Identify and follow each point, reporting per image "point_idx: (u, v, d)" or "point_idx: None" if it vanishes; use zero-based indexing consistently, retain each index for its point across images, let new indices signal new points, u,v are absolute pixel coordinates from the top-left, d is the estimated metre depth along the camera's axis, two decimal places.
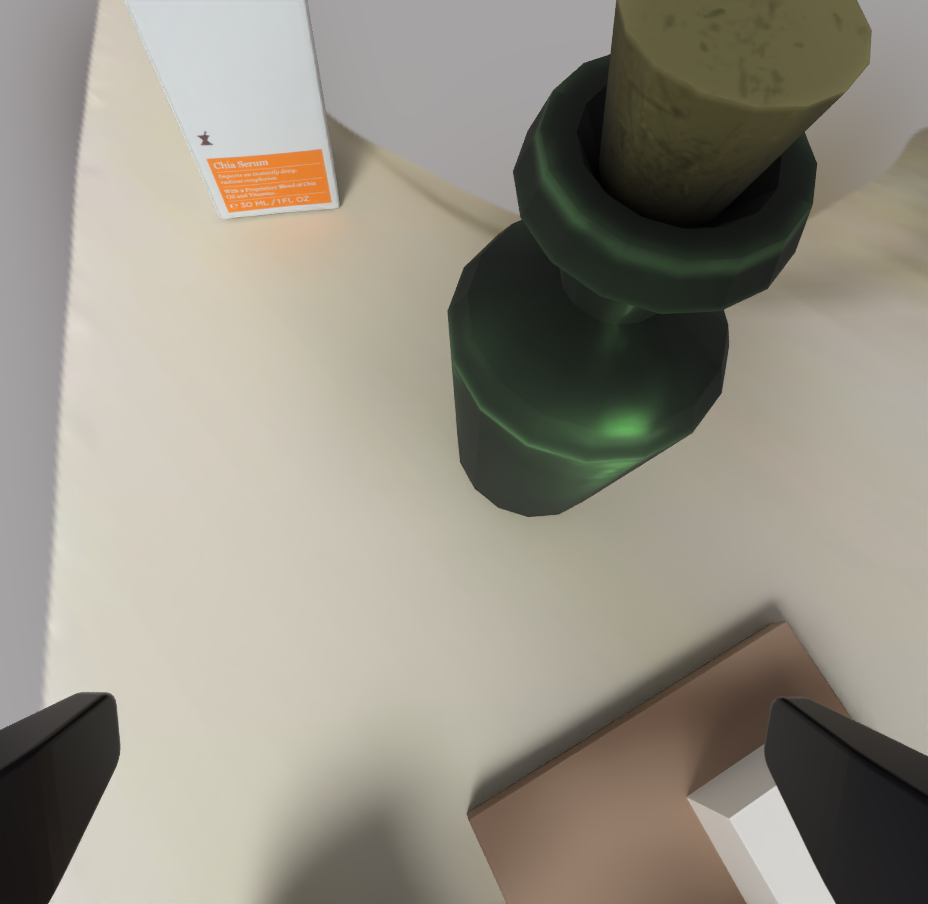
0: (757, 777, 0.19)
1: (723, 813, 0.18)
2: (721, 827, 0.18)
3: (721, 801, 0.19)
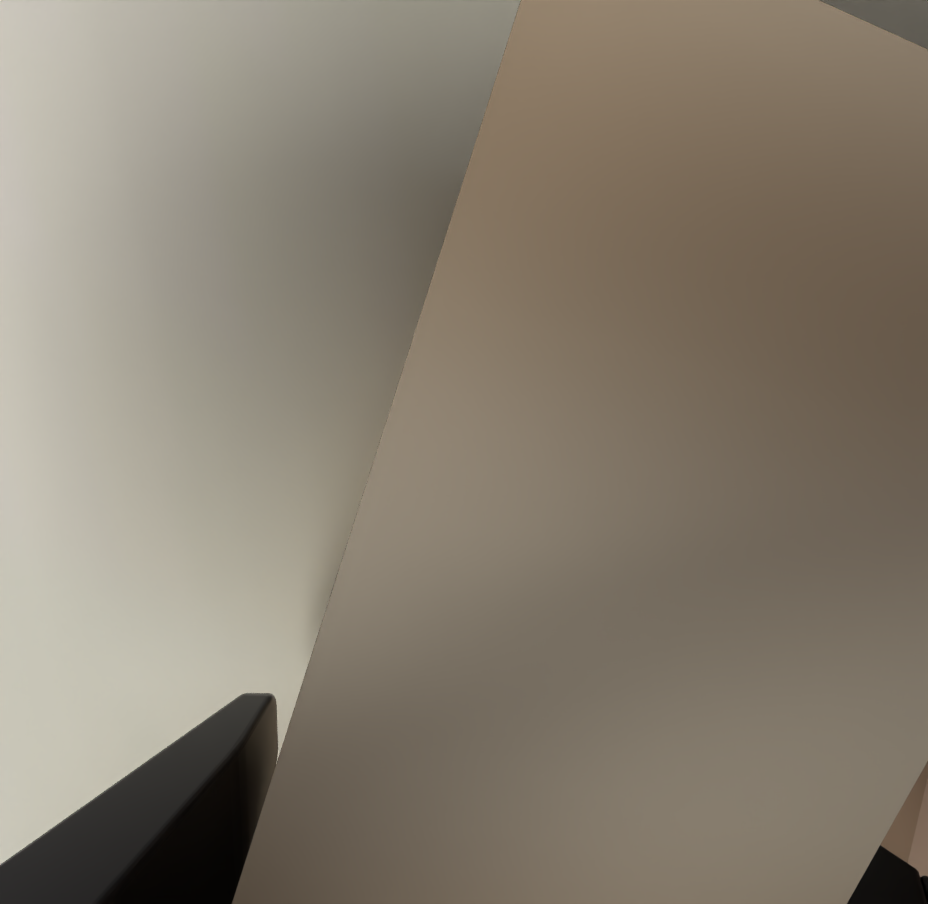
0: None
1: None
2: None
3: None
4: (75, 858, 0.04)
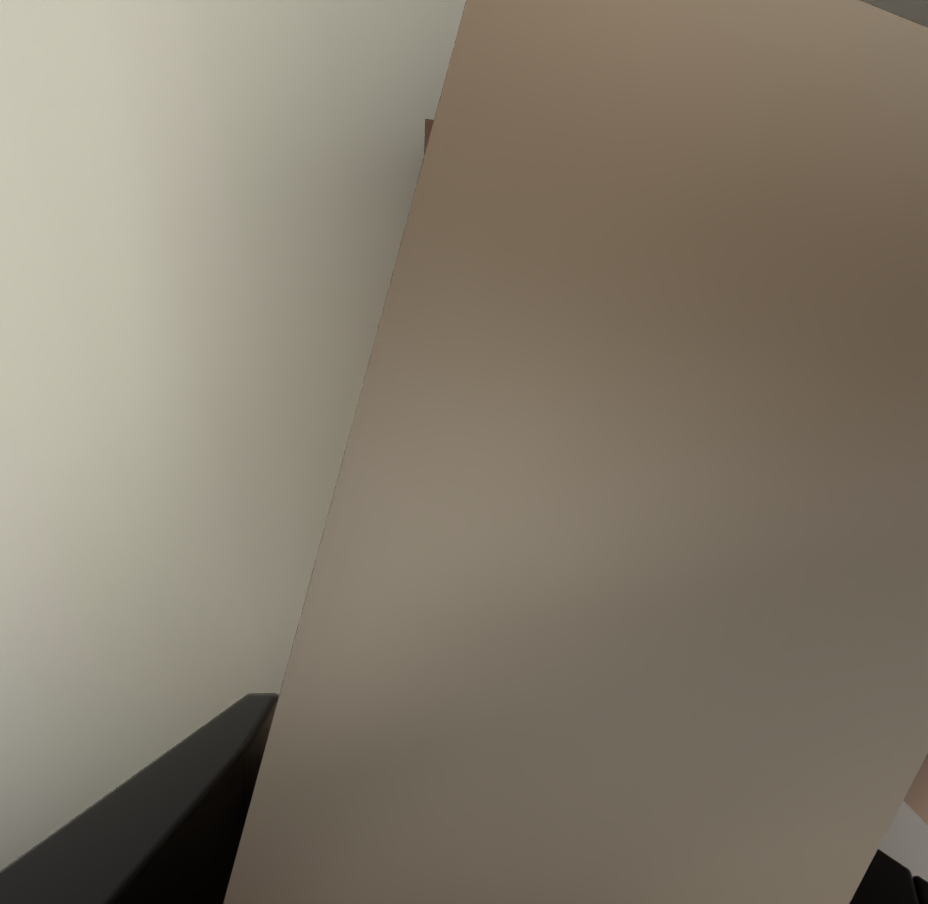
0: None
1: None
2: None
3: None
4: (84, 858, 0.04)
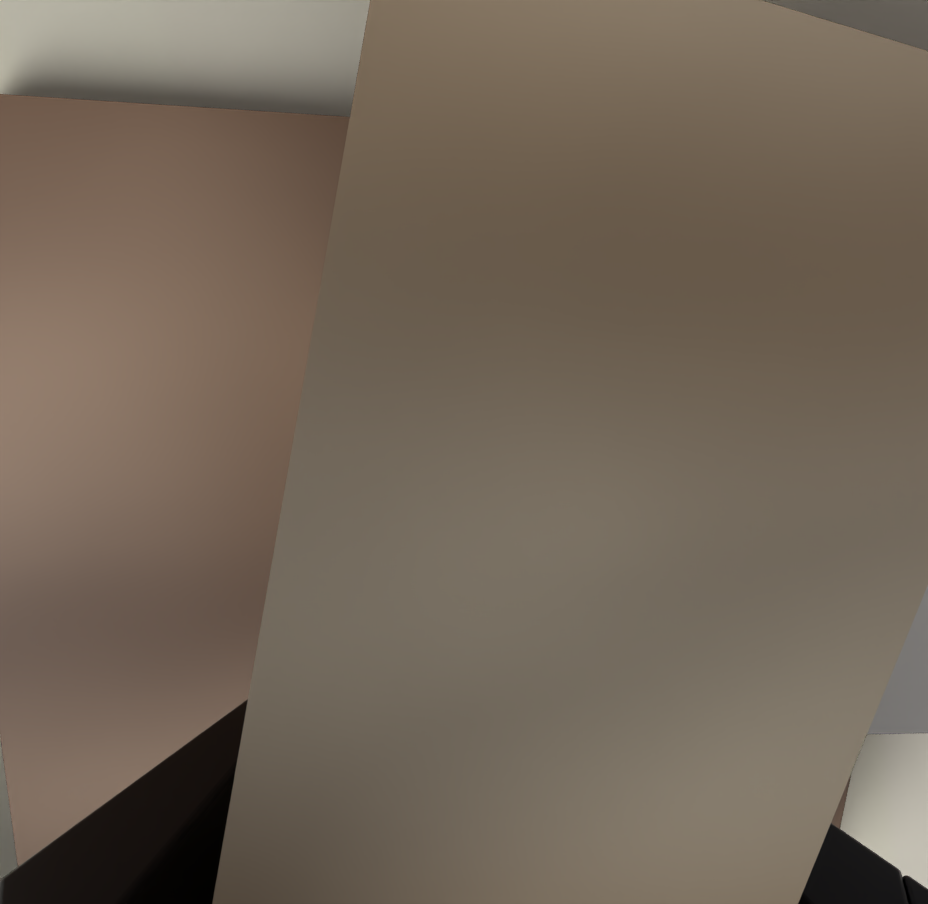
0: None
1: None
2: None
3: None
4: (95, 858, 0.04)
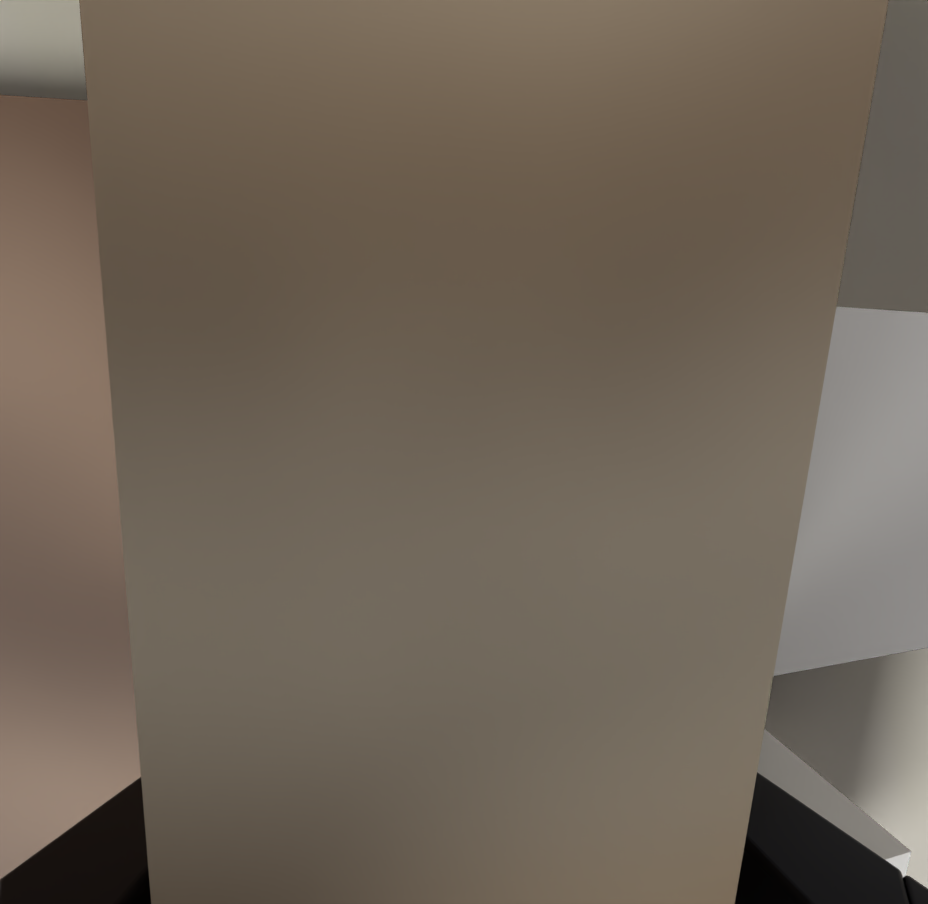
0: None
1: None
2: None
3: None
4: (94, 858, 0.04)
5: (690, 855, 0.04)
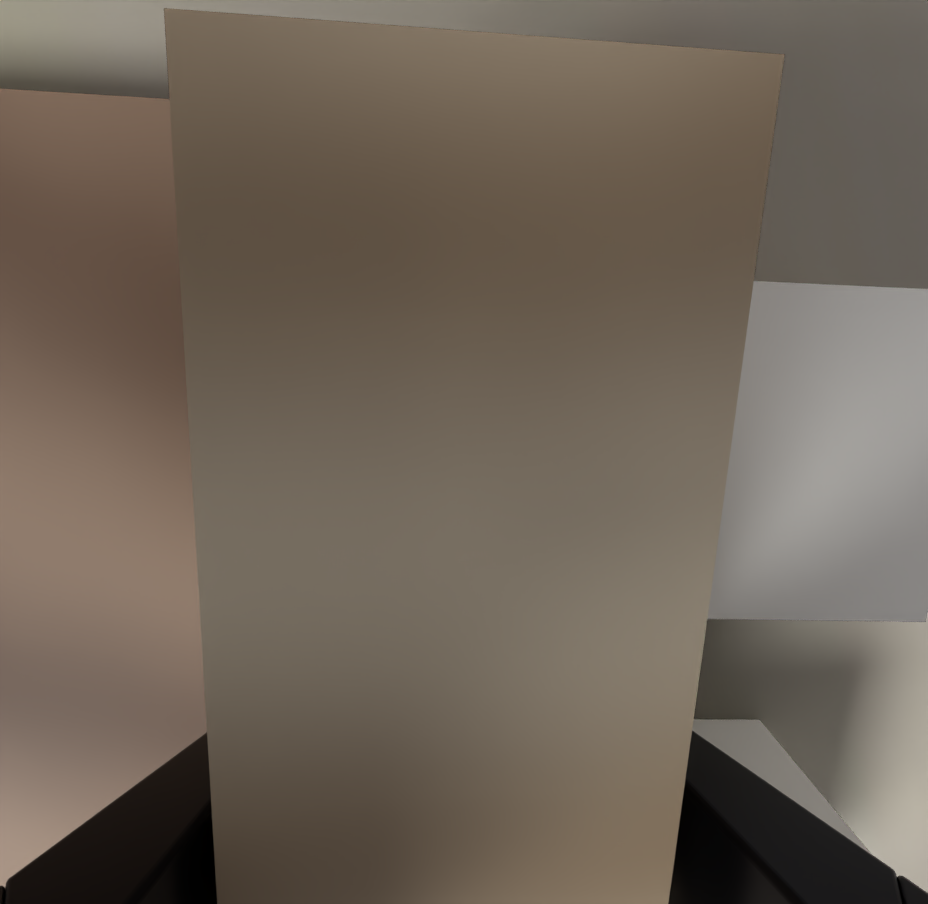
0: None
1: None
2: None
3: None
4: (102, 857, 0.04)
5: (644, 760, 0.05)
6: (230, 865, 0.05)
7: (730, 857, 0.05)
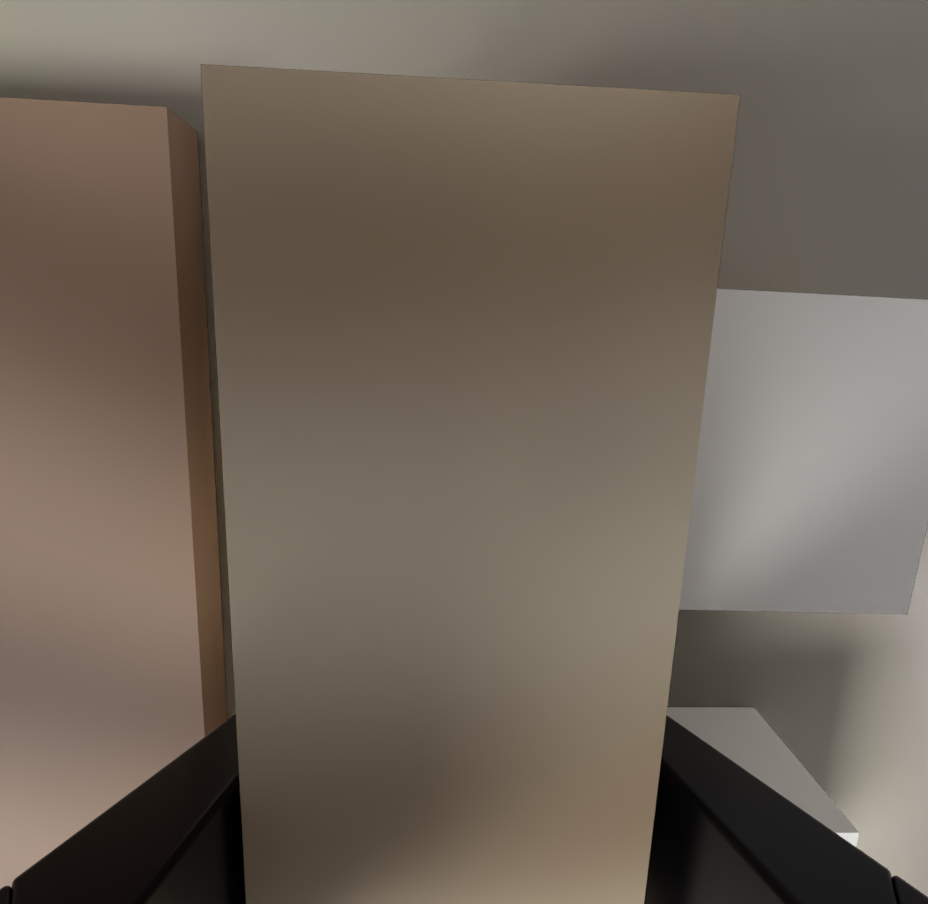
0: None
1: None
2: None
3: None
4: (108, 857, 0.05)
5: (626, 723, 0.05)
6: (255, 816, 0.05)
7: (725, 858, 0.05)
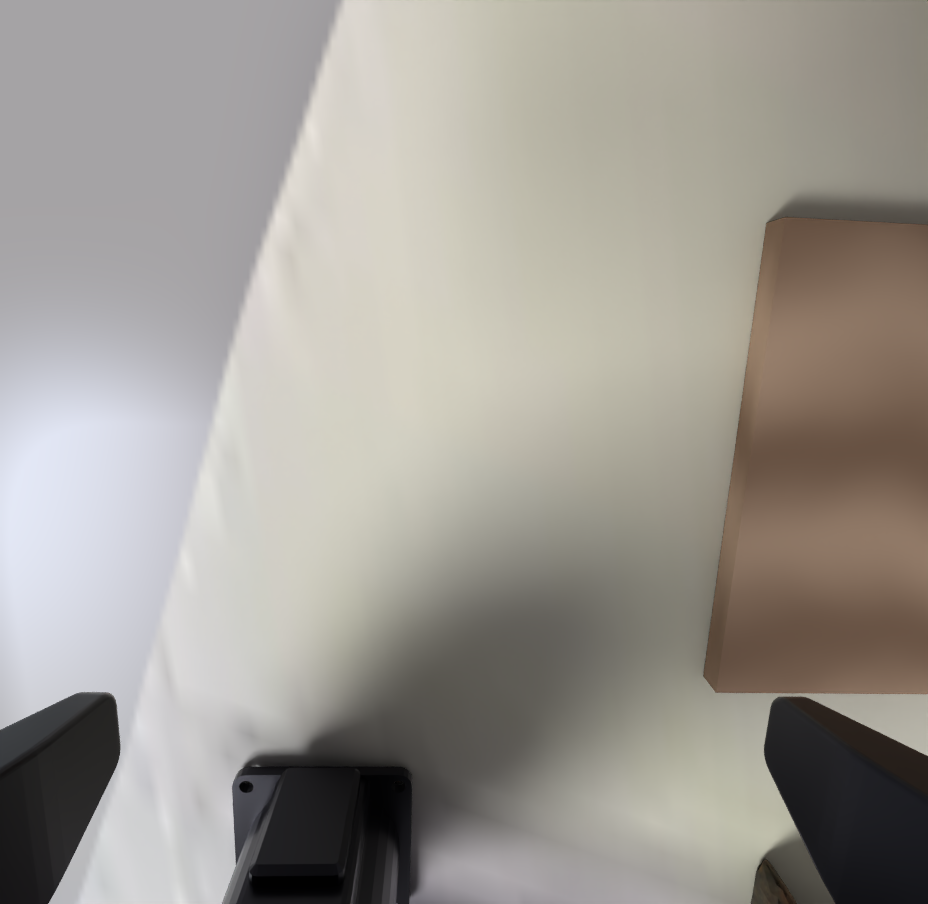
0: None
1: None
2: None
3: None
4: None
5: None
6: None
7: None
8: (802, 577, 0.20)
